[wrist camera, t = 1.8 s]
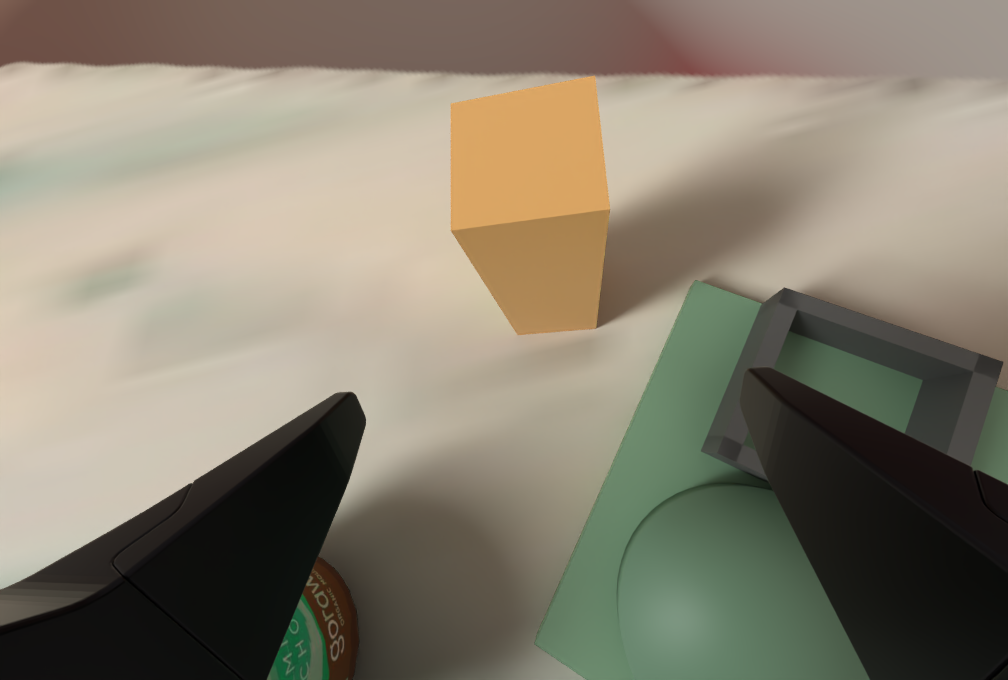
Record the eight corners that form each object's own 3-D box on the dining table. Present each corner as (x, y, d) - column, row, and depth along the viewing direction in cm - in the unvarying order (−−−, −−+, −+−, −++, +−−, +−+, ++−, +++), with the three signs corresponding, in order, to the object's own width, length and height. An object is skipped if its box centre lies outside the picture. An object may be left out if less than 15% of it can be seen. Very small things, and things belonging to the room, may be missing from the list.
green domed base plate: (877, 863, 16) (957, 979, 12) (536, 634, 20) (527, 673, 16) (1017, 404, 18) (1114, 397, 15) (690, 286, 22) (709, 259, 19)
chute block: (596, 328, 23) (609, 209, 11) (517, 335, 24) (450, 230, 12) (589, 253, 24) (594, 71, 12) (514, 262, 25) (450, 100, 13)
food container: (426, 659, 20) (290, 852, 11) (343, 750, 20) (128, 1030, 11) (297, 479, 24) (111, 506, 15) (225, 555, 24) (-13, 632, 14)
